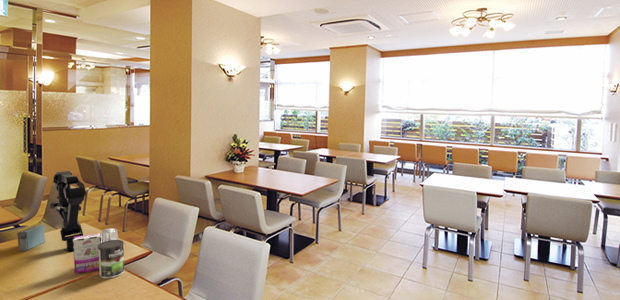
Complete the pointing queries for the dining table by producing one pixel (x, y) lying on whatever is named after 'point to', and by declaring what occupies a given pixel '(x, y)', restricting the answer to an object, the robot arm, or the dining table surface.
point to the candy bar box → (86, 253)
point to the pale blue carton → (22, 236)
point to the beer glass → (109, 234)
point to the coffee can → (111, 258)
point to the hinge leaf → (33, 238)
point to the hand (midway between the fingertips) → (66, 221)
